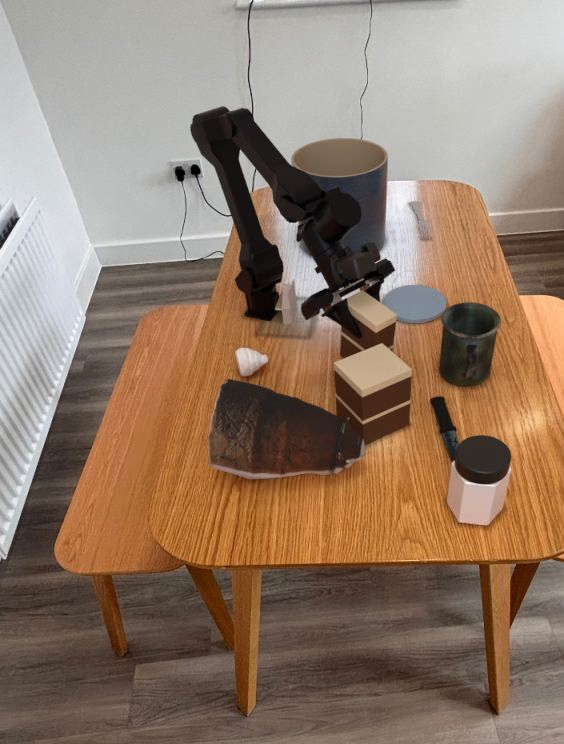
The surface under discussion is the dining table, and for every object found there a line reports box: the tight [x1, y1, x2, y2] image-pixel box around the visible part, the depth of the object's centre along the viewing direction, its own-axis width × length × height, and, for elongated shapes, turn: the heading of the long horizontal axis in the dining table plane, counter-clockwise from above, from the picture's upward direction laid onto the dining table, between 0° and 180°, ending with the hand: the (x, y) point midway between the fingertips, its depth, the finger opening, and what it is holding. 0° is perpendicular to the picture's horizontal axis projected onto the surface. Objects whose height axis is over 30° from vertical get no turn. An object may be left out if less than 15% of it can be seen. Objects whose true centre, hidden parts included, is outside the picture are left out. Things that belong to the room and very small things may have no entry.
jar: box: [446, 434, 512, 526], centre depth 99 cm, size 9×8×12 cm
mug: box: [438, 301, 502, 388], centre depth 120 cm, size 11×15×12 cm
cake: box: [333, 343, 413, 446], centre depth 113 cm, size 9×10×12 cm
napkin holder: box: [275, 279, 298, 325], centre depth 138 cm, size 3×7×7 cm, turn 172°
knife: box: [430, 395, 460, 463], centre depth 113 cm, size 21×1×3 cm
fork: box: [409, 201, 431, 241], centre depth 168 cm, size 3×21×3 cm, turn 5°
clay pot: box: [206, 378, 367, 480], centre depth 107 cm, size 15×15×25 cm
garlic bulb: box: [234, 347, 269, 378], centre depth 126 cm, size 6×6×5 cm
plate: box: [382, 284, 448, 324], centre depth 142 cm, size 14×14×1 cm
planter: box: [290, 137, 389, 257], centre depth 154 cm, size 22×22×20 cm
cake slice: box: [339, 290, 397, 359], centre depth 118 cm, size 9×5×12 cm, turn 42°
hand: (371, 331), depth 116 cm, fingers closed on cake slice, 5 cm apart
